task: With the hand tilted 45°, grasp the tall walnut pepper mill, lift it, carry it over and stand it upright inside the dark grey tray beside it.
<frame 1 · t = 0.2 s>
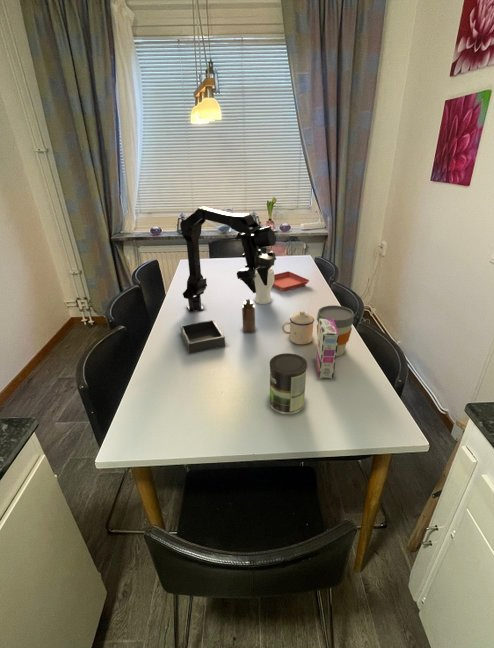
hand: (260, 289, 138), 15 cm above the table, tool pointing down, fingers open, 9 cm apart
white vase: (263, 301, 167), on the table
pepper mill: (249, 329, 142), on the table
teacup with lid: (297, 339, 135), on the table
dark grey tray: (202, 340, 135), on the table
plant saucer: (285, 285, 185), on the table
reusable coffee cup: (331, 350, 128), on the table
coffee can: (286, 403, 102), on the table
candy bar box: (324, 370, 117), on the table
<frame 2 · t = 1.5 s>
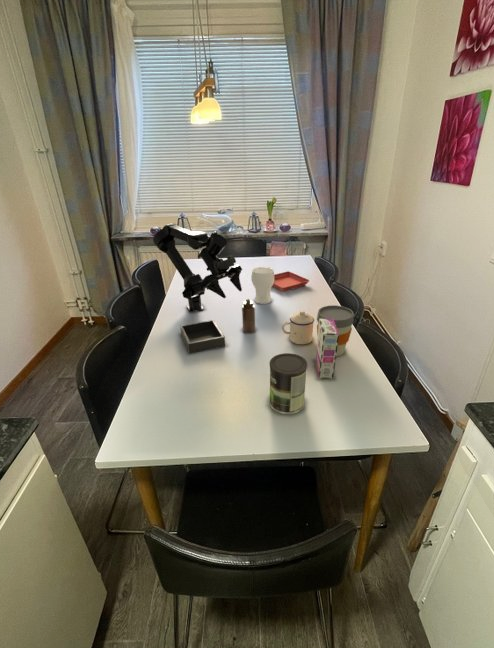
hand: (233, 294, 139), 13 cm above the table, tool tilted 45°, fingers open, 9 cm apart
nothing on the table moved.
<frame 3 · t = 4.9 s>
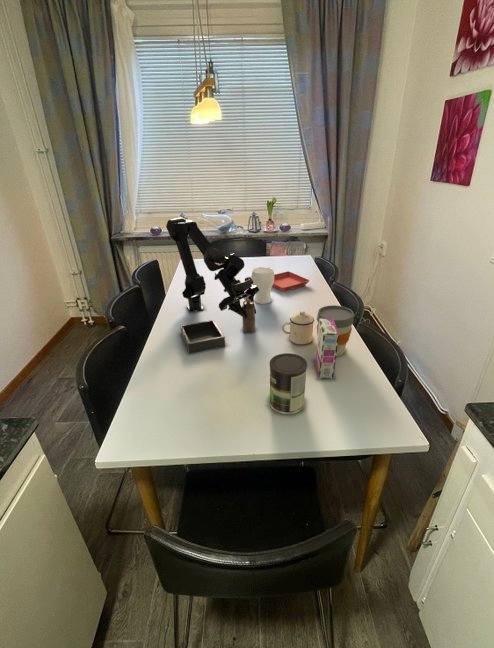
hand: (251, 315, 137), 7 cm above the table, tool tilted 45°, fingers closed on pepper mill, 5 cm apart
pepper mill: (249, 329, 142), on the table, touching gripper
everything else where it was.
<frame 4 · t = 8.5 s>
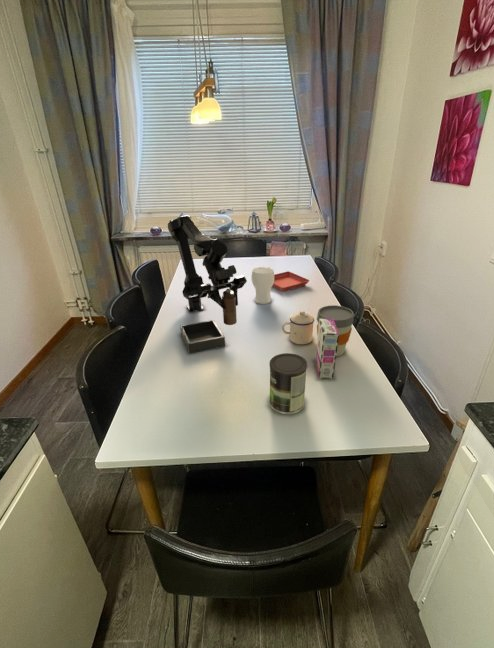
hand: (230, 307, 129), 13 cm above the table, tool tilted 45°, fingers closed on pepper mill, 5 cm apart
pepper mill: (230, 322, 133), point 7 cm above the table, touching gripper
everything else where it was.
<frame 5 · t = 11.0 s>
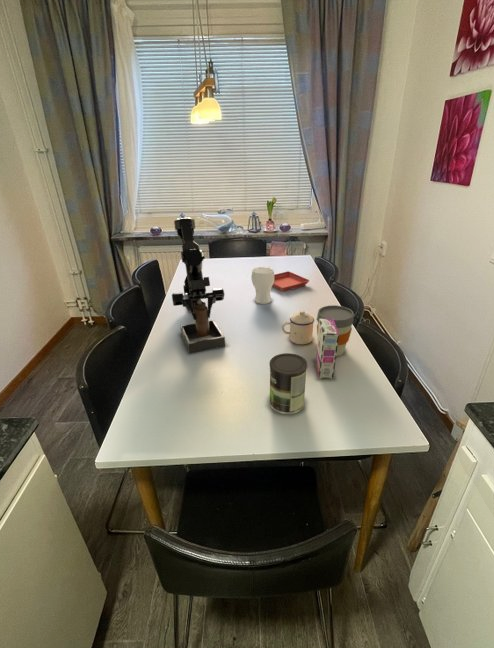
hand: (201, 318, 126), 11 cm above the table, tool tilted 45°, fingers closed on pepper mill, 5 cm apart
pepper mill: (203, 333, 131), point 4 cm above the table, touching gripper
everything else where it was.
when the fingers open (7 cm above the table, at t = 12.5 s): pepper mill stays where it is, resting on dark grey tray.
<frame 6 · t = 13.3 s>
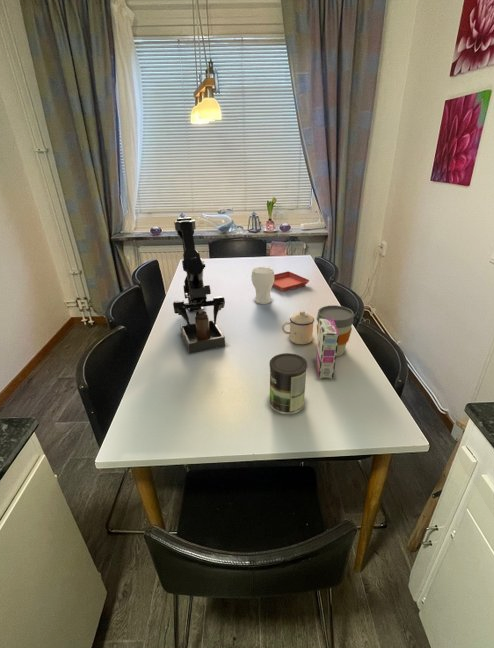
hand: (202, 326, 128), 8 cm above the table, tool tilted 45°, fingers open, 9 cm apart
pepper mill: (204, 341, 133), resting on dark grey tray
everything else where it was.
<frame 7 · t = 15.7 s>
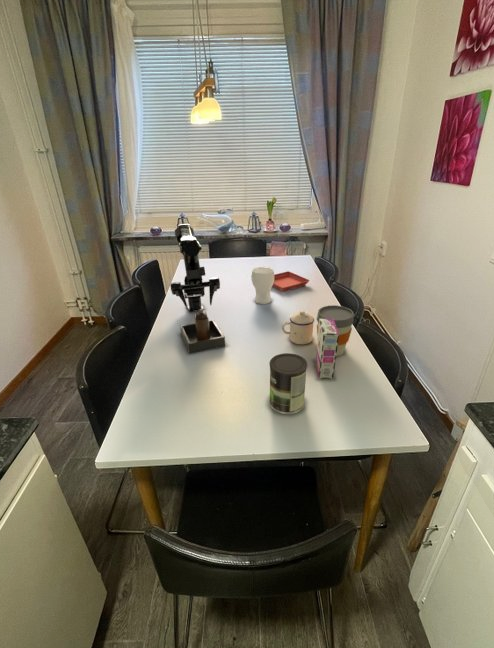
hand: (198, 306, 134), 12 cm above the table, tool tilted 45°, fingers open, 9 cm apart
nothing on the table moved.
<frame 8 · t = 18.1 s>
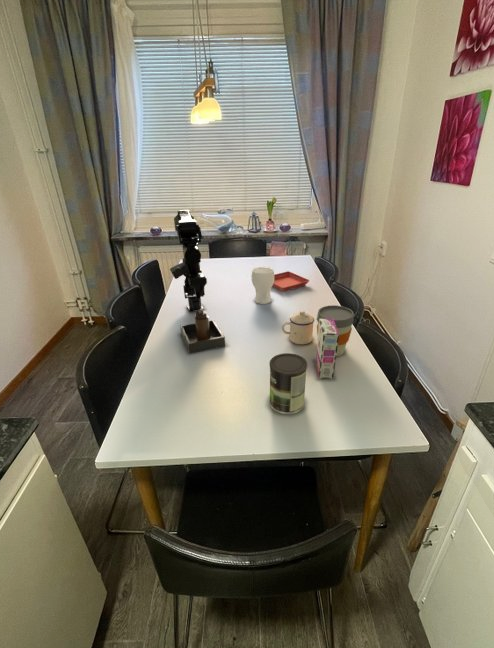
hand: (195, 294, 140), 13 cm above the table, tool pointing down, fingers open, 9 cm apart
nothing on the table moved.
at the end: pepper mill inside the target area in the dark grey tray (2.4 cm from its centre), point 0.5 cm above the dark grey tray's base; pepper mill tilted 0°; the gripper is holding nothing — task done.
